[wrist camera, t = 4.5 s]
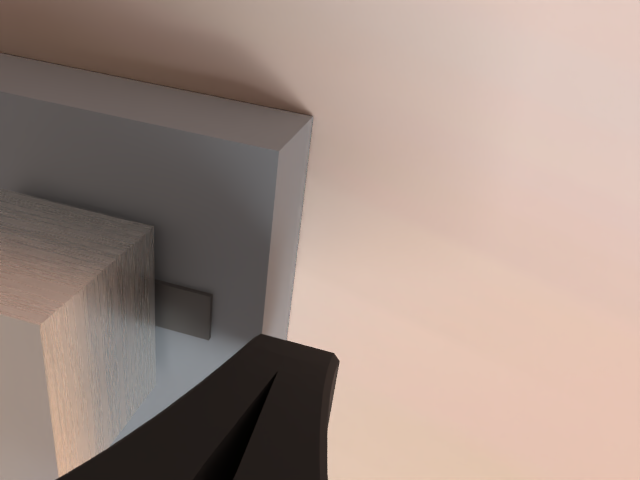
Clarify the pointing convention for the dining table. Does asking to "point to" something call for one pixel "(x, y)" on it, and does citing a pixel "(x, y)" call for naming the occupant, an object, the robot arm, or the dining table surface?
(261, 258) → the control panel
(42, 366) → the slider knob
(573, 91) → the dining table surface
